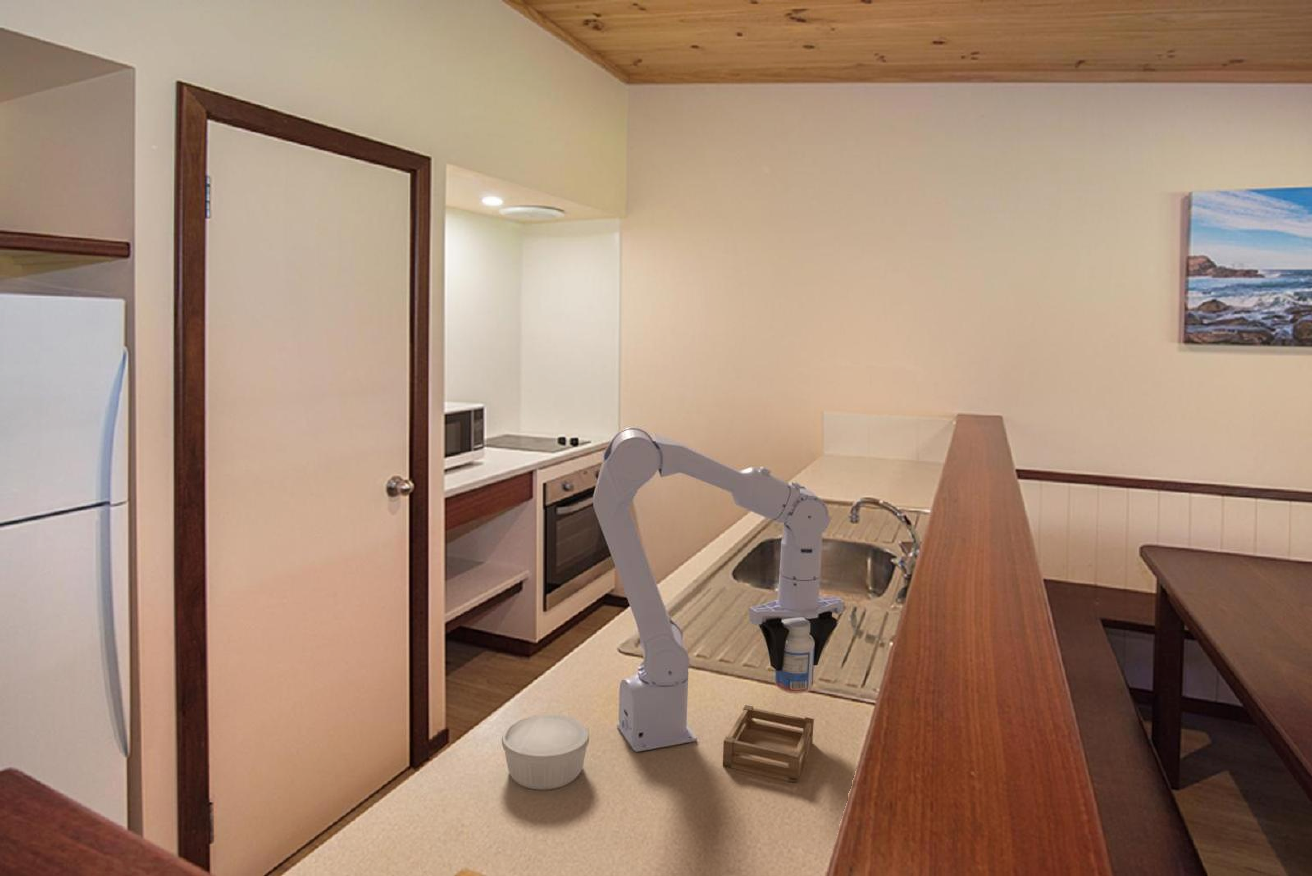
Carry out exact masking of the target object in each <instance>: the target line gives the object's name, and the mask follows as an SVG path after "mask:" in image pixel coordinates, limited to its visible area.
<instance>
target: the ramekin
mask: <svg viewBox="0 0 1312 876" xmlns="http://www.w3.org/2000/svg"><path fill="white" fill-rule="evenodd" d="M589 743H590V732H589V730H588V727H587V726H586V725H585V724H584V723H583V722H582V721H580V720H578V719H576V718H574V717H571V716H567V715H562V714H555V713H554V714H553V713H551V714H549V713H546V714H545V713H544V714H537V715H536V714H535V715H531V716H527V717H524V718H522V719H519V720H517V721H515V722H513V723H512V724H510V725H509V726H508V727H507V728H506V729H505V730H504V732H503V734H502V737H501V746H502V749H503V750H504V754H505V760H506V764H507V770H508V773H509V775H510V777H511V778H512V779H513V781H514V782H515V783H517V784H518V785H520V786H521V787H524V788H527V789H531V790H539V791H540V790H541V791H542V790H547V791H548V790H555V789H559V788H562V787H565V786H566V785H568V784H570V783H571V782H573V781H574V780H575V779H576V778H577V777H578V776H579V775H580V773H581V772H582V770H583V768H584V762H585V756H586V750H587V747H588V746H589Z"/></svg>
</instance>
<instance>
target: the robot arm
mask: <svg viewBox="0 0 1312 876" xmlns="http://www.w3.org/2000/svg"><path fill="white" fill-rule="evenodd" d="M651 435H652V437H653V438H652V437H651V436H650V434H649V433H648V432H647V431H646V430H643V429H641V428H638V427H627V428H624V429H621V430H620V431H618V432H617V433H616V434H615V435H614V437H613V438H612V439H611V441H610V443H609V444H608V445H607V447H606V449H605V450H604V452H603V456H602V461H601V464H600V465H601V466H600V469H599V471H598V472H599V473H598V477H597V481H596V485H595V488H594V492H593V495H592V496H593V497H592V505H593V509H594V512H595V515H596V518H597V521H598V523H599V526H600V528H601V531H602V534H603V536H604V539H605V542H606V545H607V547H608V550H609V553H610V555H611V559H612V561H613V563H614V565H615V566H614V567H615V569H616V571H617V574H618V577H619V579H620V580H619V581H620V582H621V585H622V588H623V591H624V593H625V596H626V598H627V602H628V604H629V606H630V610H631V612H632V616H633V617H634V620H635V624H636V626H637V627H636V628H637V631H638V633H639V644H640V647H641V649H642V656H643V657H642V658H643V660H642V662H641V663H640V665H639V666H638V668H637V672H636V673H635V674H634V675H632V676H629V677H626V678H623V679H622V680H621V681H620V683H619V691H618V692H619V693H618V695H619V699H618V721H617V723H616V726H617V728H618V729H619V731H620V732H621V733H622V736H623V737H624V738H625V740H626V741H627V742H628V744H629V746H630V747H631V748H632V750H633V751H634V752H635V753H636V752H637V753H638V752H639V753H640V752H643V751H644V752H645V751H647V750H648V751H649V750H655V749H659V748H664V747H665V748H666V747H670V746H675V745H677V746H678V745H682V744H688V743H692V742H696V741H697V740H698V737H697V735H696V734H695V733H694V731H692V729H691V728H690V727H689V726H688V725H687V724H688V723H687V719H688V697H689V696H688V695H689V694H688V693H689V690H688V689H689V669H690V657H689V653H688V652H687V650H686V647H685V643H684V640H683V632H682V630H681V628H680V626H679V624H677V622H675V621H674V620H673V619H672V618H671V617H670V615H669V612H668V611H667V608H666V605H665V602H664V601H663V598H662V595H661V593H660V590H659V586H658V585H657V581H656V579H655V576H654V573H653V571H652V567H651V564H650V562H649V559H648V557H647V554H646V551H645V548H644V545H643V543H642V539H641V537H640V534H639V531H638V529H637V526H636V524H635V521H634V518H633V515H632V513H631V512H632V511H631V509H630V506H631V504H632V501H633V500H634V498H635V496H636V495H637V493H638V491H639V490H640V489H641V488H642V487H643V486H644V485H646V484H647V483H648V482H649V481H650V480H651V479H652V478H654V476H655V475H656V474H657V472H658V474H659V476H660V478H664V477H668V476H672V475H675V474H679V473H680V474H684V475H686V476H688V477H691V478H694V479H696V480H699V481H702V482H704V483H707V484H709V485H712V486H714V487H716V488H719V489H722V490H724V491H727V492H729V493H730V494H731V496H732V499H733V501H734V504H735V505H736V506H738V507H740V508H744V509H745V510H748V511H751V512H752V513H754V514H757V515H759V516H761V517H763V518H766V519H768V520H771V521H773V522H776V523H782V534H781V537H782V538H781V542H780V555H779V556H780V559H779V571H778V572H779V574H778V577H779V578H778V591H777V593H778V594H777V599H775V600H772V601H769V602H765V603H763V604H760V605H756V606H750V607H749V614H748V615H749V616H748V620H749V622H751V623H752V624H754V625H755V626H759V628H760V630H761V633H762V635H763V638H764V640H765V645H766V647H767V652H768V656H769V663H770V666H771V667H772V668H773V669H774V671H776V670H777V671H782V668H783V660H784V648H785V643H786V639H787V636H788V634H789V630H788V629H787V628H786V627H784V626H783V624H784V623H782V620H783V619H791V618H804V619H806V620H808V621H809V622H810V634H809V635H811V636H812V637H813V639H814V642H815V647H814V666H818V664H819V661H820V658H821V655H822V653H823V650H824V648H825V645H826V644H827V643H826V642H827V641H828V639H829V638H830V636H831V634H832V633H833V631H834V630H835V629H836V628H837V624H838V620H837V619H836V617H834V616H833V614H836V615H844V613H845V601H844V600H843V599H841V598H839V597H838V596H832V597H831V596H830V597H822V596H821V597H820V585H821V569H822V551H823V533H824V532H825V531H826V529H828V527H829V525H830V522H831V516H830V515H829V510H828V507H827V504H826V503H825V502H824V501H823V500H822V498H820V497H818V495H816V494H815V493H814V492H812V491H811V490H809V489H807V488H806V487H805V486H804V485H803V486H802V485H801V484H800V483H799V482H796V481H792V482H788V481H785V480H783V479H780V478H779V477H776V476H774V475H772V474H771V472H772V471H771V470H770V469H769V468H767V467H765V466H760V467H759V469H758V468H756V467H754V466H750V467H748V468H744V469H741V470H738V469H735V468H733V467H731V466H729V465H727V464H725V463H723V462H721V461H719V460H716V459H715V458H713V457H710V456H709V455H707V454H704V453H702V452H700V451H698V450H696V449H693V448H692V447H690V446H688V445H686V444H683V443H682V442H679V441H676V440H674V439H672V438H669V437H666V436H663V435H659V434H656V433H651ZM653 439H654V440H653Z"/></svg>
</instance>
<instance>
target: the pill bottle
mask: <svg viewBox="0 0 1312 876" xmlns="http://www.w3.org/2000/svg"><path fill="white" fill-rule="evenodd" d="M782 623H784V624H783V626H784V627H786V628H787V629H788V630H789V634H788V636H787V639H786V643H785V648H784V660H783V668H782V671H777V670H775V673H774V674H775V676H774V677H775V678H774V680H775V681H774V683H775V685H776V687H777V688H778V689H779V690H781V691H783V692H785V693H789V694H804V693H808V692H810V691H811V690H812V689H813V685H814V667H815V665H814V647H815V642H814V639H813V637H812V636H811V635H809V634H810V622H809V621H808V620H806V619H805V618H804V617H799V618H791V619H783V620H782Z"/></svg>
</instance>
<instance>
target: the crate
mask: <svg viewBox="0 0 1312 876" xmlns="http://www.w3.org/2000/svg"><path fill="white" fill-rule="evenodd" d="M755 719H756V720H761V721H765V722H761V721H756V720H755ZM766 722H767V723H766ZM768 722H770V723H774V724H770V723H768ZM814 723H815V718H813V717H811V718H810V717H806V716H805V717H804V718H802V717H798V716H793V715H788V714H783V713H778V712H774V711H769V710H763V709H760V708H754V706H753V705H747V704H745V705H744V707H743V709H742V712H741V713H740V714H739V716H738V718H737V720H736V721H735V724H734V725H733V726H732V728H731V730H730V731H729V734H728V735H727V736H725V738H724V740H723V747H722V748H723V749H722V750H723V751H722V752H723V753H722V766H723V767H727V768H731V769H736V770H739V771H744V772H748V773H751V774H756V775H760V776H765V777H769V778H773V779H778V780H782V781H786V782H790V783H795V784H798V781H799V778H800V776H801V774H802V773H801V772H802V770H803V768H804V765H805V764H806V760H807V758H808V755H809V754H810V753H809V752H810V750H811V747H812V745H813V741H814V738H813V736H814ZM776 724H778V725H776ZM779 724H780V725H779ZM782 725H785V726H782ZM786 726H788V727H786ZM790 727H793V728H790ZM794 728H795V729H794ZM796 728H798V729H796ZM799 729H802V730H799Z"/></svg>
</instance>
